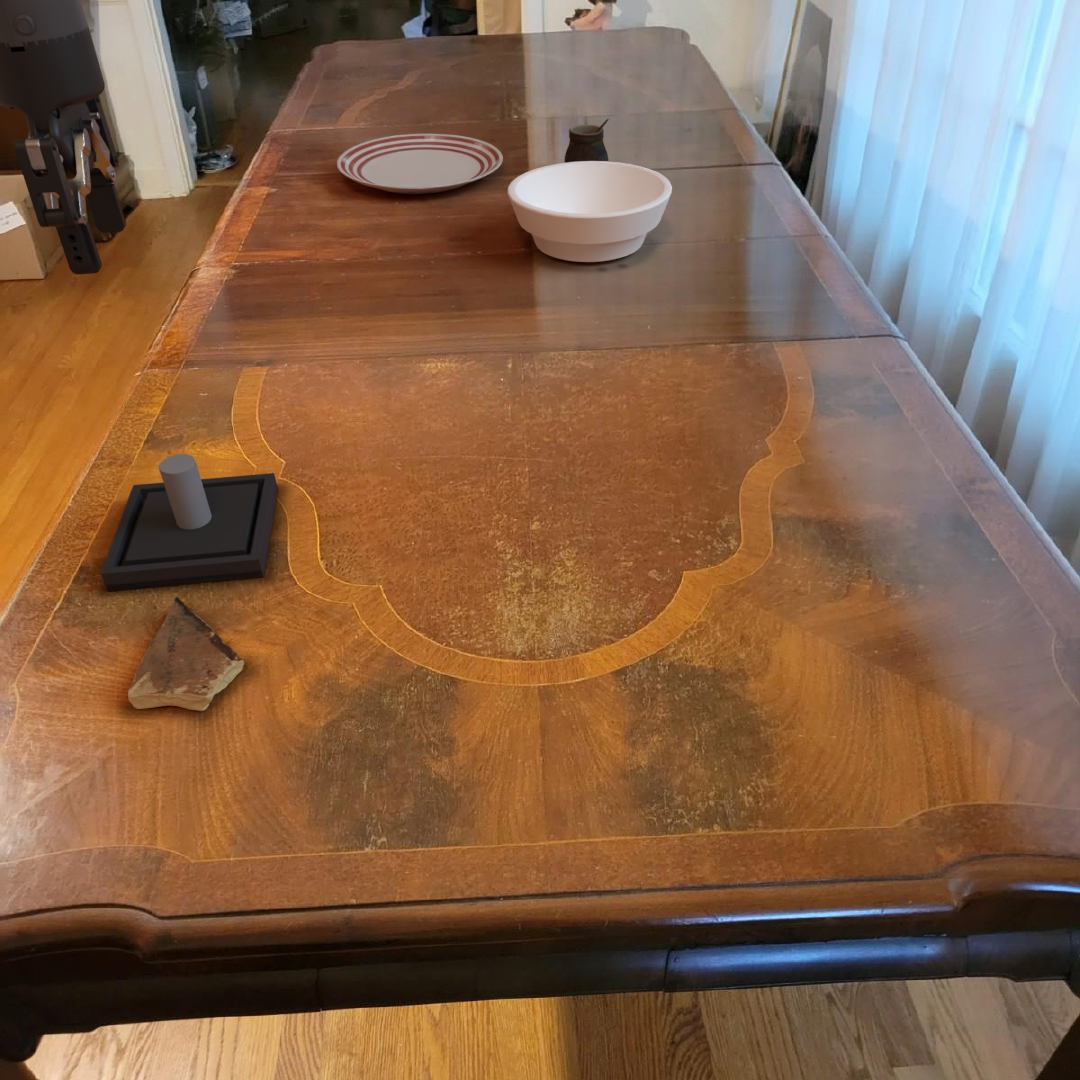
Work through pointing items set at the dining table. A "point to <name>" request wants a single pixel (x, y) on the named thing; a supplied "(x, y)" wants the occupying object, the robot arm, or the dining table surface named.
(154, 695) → the shard
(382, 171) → the dinner plate
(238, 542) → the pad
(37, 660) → the dining table surface
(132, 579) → the base pad
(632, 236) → the bowl
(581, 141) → the mate gourd
